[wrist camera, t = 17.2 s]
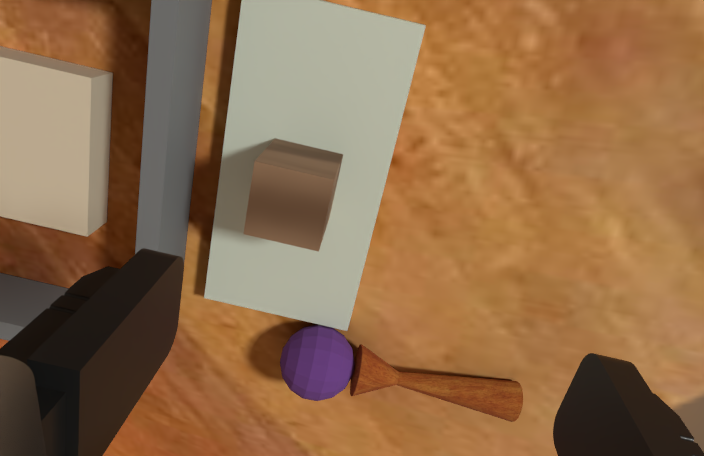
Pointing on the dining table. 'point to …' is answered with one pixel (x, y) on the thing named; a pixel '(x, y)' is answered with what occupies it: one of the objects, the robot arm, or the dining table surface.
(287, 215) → the walnut block
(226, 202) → the board
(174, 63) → the access box
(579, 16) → the dining table surface
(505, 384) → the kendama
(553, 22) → the dining table surface
